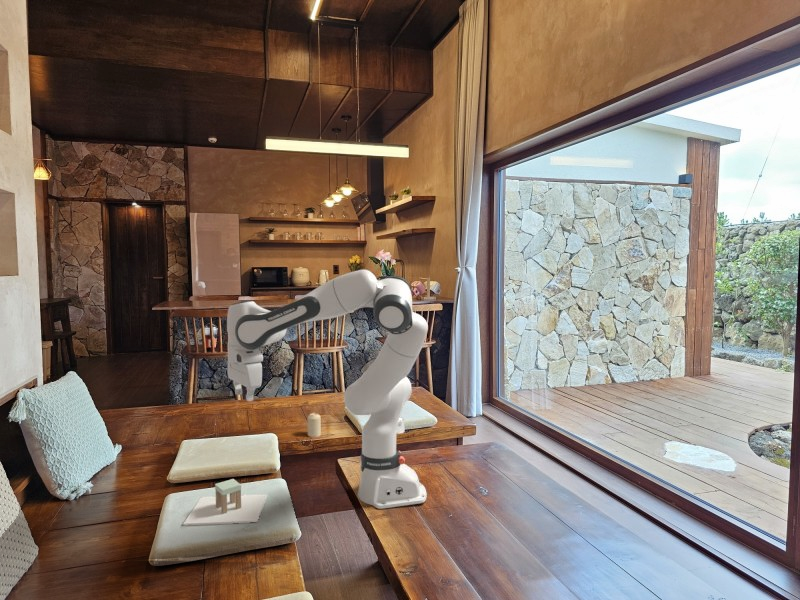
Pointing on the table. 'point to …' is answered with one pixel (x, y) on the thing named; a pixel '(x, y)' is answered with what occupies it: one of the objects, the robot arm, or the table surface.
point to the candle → (314, 425)
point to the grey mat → (211, 515)
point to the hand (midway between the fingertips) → (244, 397)
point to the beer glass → (400, 426)
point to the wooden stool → (225, 489)
